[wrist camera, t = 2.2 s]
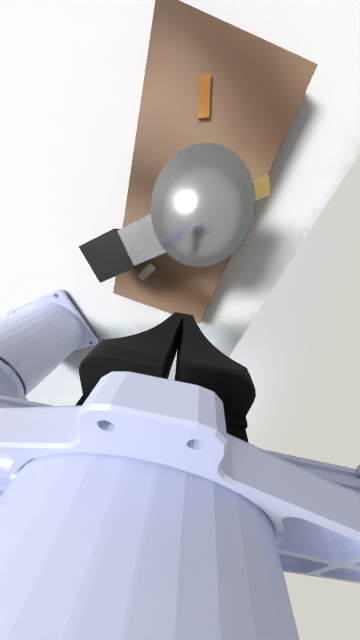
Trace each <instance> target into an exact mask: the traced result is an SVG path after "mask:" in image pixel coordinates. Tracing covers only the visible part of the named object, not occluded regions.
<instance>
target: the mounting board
mask: <svg viewBox="0 0 360 640" xmlns="http://www.w3.org/2000/svg"><path fill="white" fill-rule="evenodd" d="M317 65H318V64H316V63H313V62H311V61H309V60H307V59H305V58H303V57H300V56H298V55H296V54H294V53H292V52H290V51H287V50H285V49H283V48H281V47H279V46H277V45H274V44H272V43H270V42H268V41H266V40H264V39H261V38H259V37H257V36H255V35H253V34H250V33H248V32H246V31H244V30H242V29H240V28H237V27H235V26H233V25H231V24H229V23H227V22H224V21H222V20H220V19H218V18H216V17H214V16H211V15H209V14H207V13H205V12H203V11H201V10H198V9H196V8H194V7H192V6H190V5H188V4H185V3H183V2H181V1H179V0H156V1H155V8H154V14H153V21H152V28H151V35H150V42H149V49H148V56H147V63H146V70H145V77H144V84H143V91H142V98H141V105H140V112H139V119H138V126H137V132H136V139H135V146H134V153H133V160H132V167H131V174H130V181H129V188H128V195H127V202H126V209H125V216H124V223H123V228H124V227H126V226H128V225H130V224H131V223H133V222H135V221H137V220H139V219H141V218H143V217H145V216H147V215H149V214H151V198H152V193H153V189H154V186H155V183H156V180H157V178H158V176H159V174H160V172H161V171H162V169H163V167H164V166H165V165H166V164H167V162H168V161H169V160H170V159H171V158H172V157H173V156H174V155H175V154H177V153H178V152H180V151H181V150H182V149H185V148H187V147H189V146H191V145H195V144H198V143H215V144H219V145H222V146H224V147H227V148H229V149H230V150H232V151H233V152H235V153H236V154H237V155H238V156H239V157H240V158H241V159H242V161H243V162H244V163H245V165H246V166H247V168H248V170H249V172H250V174H251V177H252V180H255V179H257V178H259V177H261V176H264V175H266V174H268V173H269V170H270V168H271V166H272V164H273V162H274V159H275V157H276V155H277V153H278V151H279V148H280V146H281V144H282V142H283V140H284V137H285V135H286V133H287V131H288V129H289V126H290V124H291V122H292V120H293V118H294V115H295V113H296V111H297V109H298V107H299V105H300V102H301V100H302V98H303V96H304V94H305V91H306V89H307V87H308V85H309V83H310V80H311V78H312V76H313V74H314V72H315V69H316V67H317ZM230 256H231V255H230ZM230 256H229V257H227V258H226V259H224V260H223V261H221V262H219V263H216V264H213V265H210V266H204V267H195V266H189V265H185V264H183V263H180V262H179V261H177V260H175V259H174V258H172V257H171V256H170V255H169V254H168V253H167V252H166V253H163V254H161V255H159V256H156V257H154V258H151V259H149V260H147V261H144V262H143V264H141V265H139V266H137V267H136V268H134V269H131V270H129V271H127V272H124V273H122V274H119V275H117V276H116V278H115V285H114V292H113V293H115V294H118V295H121V296H123V297H126V298H129V299H132V300H135V301H138V302H140V303H143V304H146V305H149V306H152V307H155V308H158V309H160V310H163V311H166V312H169V313H172V314H173V313H175V312H179V313H184V314H190V315H193V316H194V319H195V321H196V322H197V323H200V322H201V320H202V317H203V315H204V313H205V311H206V309H207V306H208V304H209V302H210V300H211V298H212V296H213V293H214V291H215V289H216V287H217V285H218V282H219V280H220V278H221V276H222V274H223V271H224V269H225V267H226V265H227V263H228V260H229V258H230Z"/></svg>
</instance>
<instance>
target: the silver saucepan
mask: <svg viewBox="0 0 360 640" xmlns="http://www.w3.org/2000/svg"><path fill="white" fill-rule="evenodd" d="M269 194H271V190H270V182H269V174H266V175H264V176H261V177H259V178H257V179H255V180H252V177H251V174H250V172H249V170H248V168H247V166H246V165H245V163H244V162H243V161H242V159H241V158H240V157H239V156H238V155H237V154H236V153H235V152H233V151H232V150H230V149H229V148H227V147H224V146H222V145H219V144H215V143H198V144H195V145H191V146H189V147H187V148H185V149H182V150H181V151H180V152H178V153H177V154H175V155H174V156H173V157H172V158H171V159H170V160H169V161H168V162H167V164H166V165H165V166H164V167H163V169H162V171H161V172H160V174H159V176H158V178H157V180H156V183H155V186H154V189H153V193H152V198H151V214H149V215H147V216H145V217H143V218H141V219H139V220H137V221H135V222H133V223H131V224H130V225H128V226H126V227H124V228H122V229H113V230H111V231H109V232H107V233H105V234H103V235H101V236H99V237H97V238H95V239H93V240H91V241H89V242H87V243H85V244H83V245H81V246H79V248H80V250H81V251H82V253H83V255H84V256H85V258H86V260H87V261H88V263H89V265H90V266H91V268H92V270H93V272H94V273H95V275H96V277H97V278H98V280H99V282H103V281H105V280H107V279H110V278H112V277H115V276H117V275H119V274H122V273H124V272H127V271H129V270H131V269H134V268H136V267H137V266H139V265H141V264H143V262H144V261H147V260H149V259H151V258H154V257H156V256H159V255H161V254H163V253H166V252H167V253H168V254H169V255H170V256H171V257H172V258H174V259H175V260H177V261H179V262H180V263H183V264H185V265H189V266H195V267H204V266H210V265H213V264H216V263H219V262H221V261H223V260H224V259H226V258H227V257H229V256H230V255H231V254H233V253H234V252H235V251H236V250H237V249H238V247H239V246H240V245H241V244H242V242H243V241H244V239H245V238H246V236H247V234H248V232H249V230H250V227H251V224H252V221H253V217H254V212H255V201H257V200H259V199H262V198H264V197H266V196H268V195H269Z"/></svg>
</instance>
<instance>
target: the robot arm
mask: <svg viewBox="0 0 360 640" xmlns="http://www.w3.org/2000/svg"><path fill="white" fill-rule="evenodd" d="M57 295H58V296H57ZM7 314H8V316H6V317H3V318H1V319H0V640H299V636H298V632H297V629H296V624H295V620H294V616H293V611H292V607H291V603H290V599H289V595H288V590H287V586H286V582H285V578H284V574H283V572H289V573H296V574H303V575H309V576H316V577H323V578H330V579H337V580H343V581H349V582H355V583H360V465H359V466H358V467H357V469H353V468H348V467H343V466H338V465H333V464H328V463H324V462H319V461H314V460H309V459H304V458H299V457H295V456H290V455H285V454H280V453H276V452H271V451H266V450H263V449H260V448H258V447H256V446H254V445H252V444H249V443H248V438H247V434H246V429H245V428H247V420H246V415H247V413H248V411H249V409H250V407H251V406H252V404H253V402H254V399H255V396H256V395H255V388H254V385H253V382H252V379H251V377H250V374H249V372H248V370H247V368H246V367H244V366H242V365H241V364H239V363H237V362H235V361H233V360H232V359H230V358H229V357H227V356H226V355H224V354H223V353H222V352H220V351H219V350H218V349H217V348H216V347H215V346H213V345H212V344H211V343H210V342H209V341H208V339H207V338H206V337H205V336H204V335H203V333H202V332H201V330H200V328H199V327H198V325H197V323H196V321H195V319H194V316H193V315H190V314H184V313H179V312H175V313H173V314H172V315H171V316H170V317H169V318H167V319H166V320H165V321H163V322H162V323H160V324H159V325H157V326H156V327H154V328H152V329H149V330H147V331H144V332H141V333H138V334H135V335H132V336H127V337H122V338H116V339H108V340H102V341H101V342H100V343H99V344H98V342H99V341H98V339H97V338H96V336H95V335H94V333H93V332H92V330H91V329H90V328H89V326H88V325H87V323H86V322H85V320H84V319H83V318H82V316H81V315H80V313H79V312H78V310H77V309H76V308H75V306H74V305H73V303H72V302H71V300H70V299H69V297H68V296H67V295H66V293H65V292H64V291H63V290H61V289H59V290H57V291H54V292H52V293H50V294H47V295H45V296H43V297H41V298H38V299H36V300H34V301H32V302H29V303H27V304H25V305H23V306H20V307H18V308H16V309H13V310H11V311H9V312H7ZM91 342H92V343H91ZM97 344H98V345H97ZM94 345H97V346H96V347H95V348H94V349H93V350H92V351H91V352H90V353H89V354H88V355H87V356H86V358H85V359H84V360H83V361H82V362H81V364H80V367H79V375H80V381H81V386H82V391H83V396H82V397H81V398H80V400H79V401H78V403H77V404H76V405H75V406H51V405H46V404H41V403H36V402H31V401H28V400H27V399H26V397H25V396H26V395H27V394H28V393H29V392H30V391H31V390H32V389H34V388H35V387H36V386H37V385H38V384H39V383H40V382H41V381H42V380H43V379H44V378H45V377H46V376H48V375H49V374H50V373H51V372H52V371H53V370H54V369H55V368H56V367H57V366H58V365H59V364H60V363H62V362H63V361H64V360H65V359H66V358H67V357H68V356H69V355H70V354H71V353H72V352H74V351H77V350H81V349H84V348H87V347H91V346H94ZM176 352H177V361H176V374H175V381H174V380H169V379H168V376H169V373H170V370H171V367H172V364H173V361H174V358H175V355H176Z"/></svg>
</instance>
